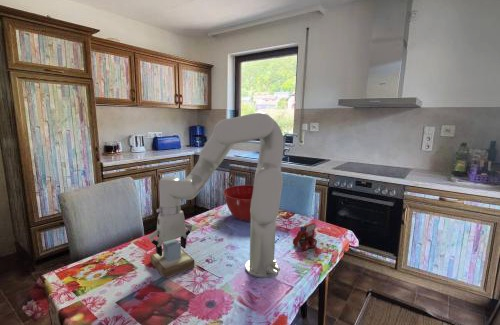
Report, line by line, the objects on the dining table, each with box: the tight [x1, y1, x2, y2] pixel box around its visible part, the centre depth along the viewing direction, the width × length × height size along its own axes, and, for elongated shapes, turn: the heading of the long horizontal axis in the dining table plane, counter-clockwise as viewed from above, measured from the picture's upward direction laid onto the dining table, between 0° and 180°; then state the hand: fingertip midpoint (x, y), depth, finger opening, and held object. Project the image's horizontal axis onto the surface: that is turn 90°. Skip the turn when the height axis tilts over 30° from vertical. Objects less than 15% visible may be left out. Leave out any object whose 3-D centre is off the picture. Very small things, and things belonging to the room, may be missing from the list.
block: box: [162, 238, 182, 262], centre depth 103 cm, size 5×5×6 cm
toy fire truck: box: [292, 222, 318, 251], centre depth 120 cm, size 7×12×10 cm, turn 128°
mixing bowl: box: [222, 184, 254, 222], centre depth 154 cm, size 28×28×16 cm
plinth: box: [149, 248, 195, 279], centre depth 104 cm, size 14×12×3 cm
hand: (171, 250), depth 103 cm, fingers open, 9 cm apart
